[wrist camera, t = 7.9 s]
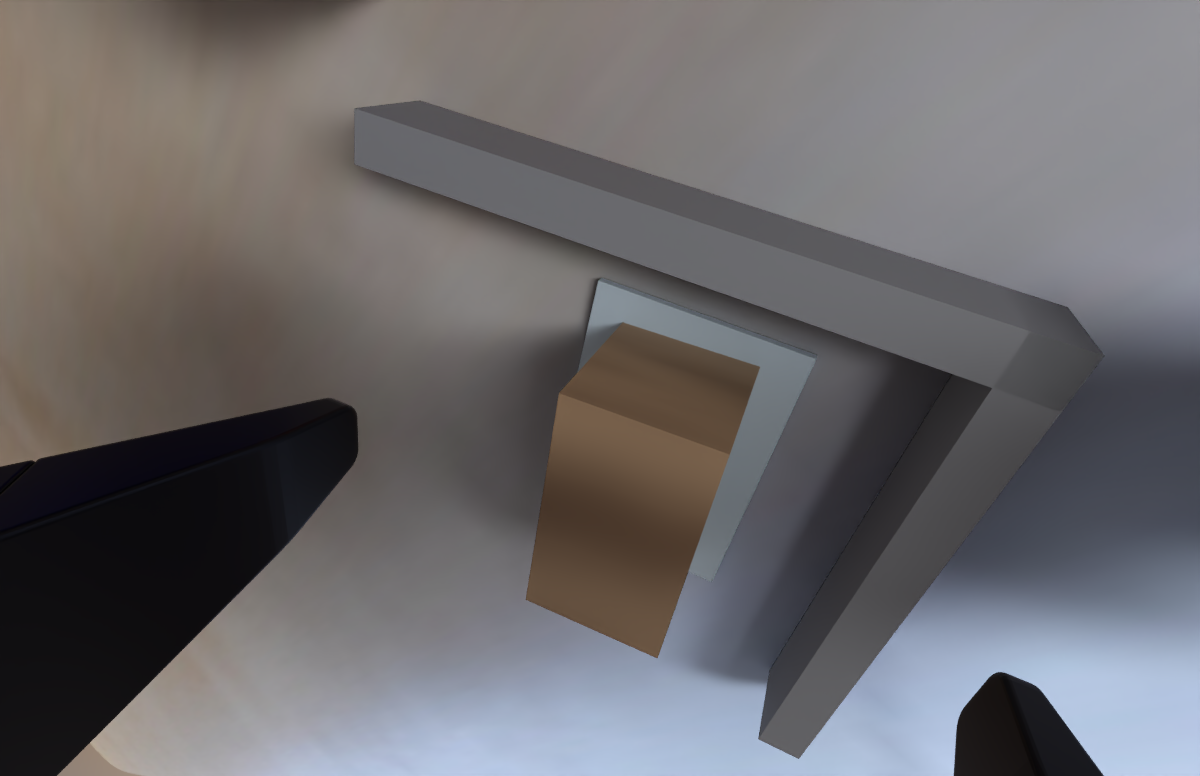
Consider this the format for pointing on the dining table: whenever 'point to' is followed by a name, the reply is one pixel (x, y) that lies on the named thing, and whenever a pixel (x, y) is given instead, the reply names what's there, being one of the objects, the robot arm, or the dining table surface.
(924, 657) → the dining table surface
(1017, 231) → the dining table surface
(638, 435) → the walnut block
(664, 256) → the grey angle bracket
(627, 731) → the dining table surface
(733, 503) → the mat
